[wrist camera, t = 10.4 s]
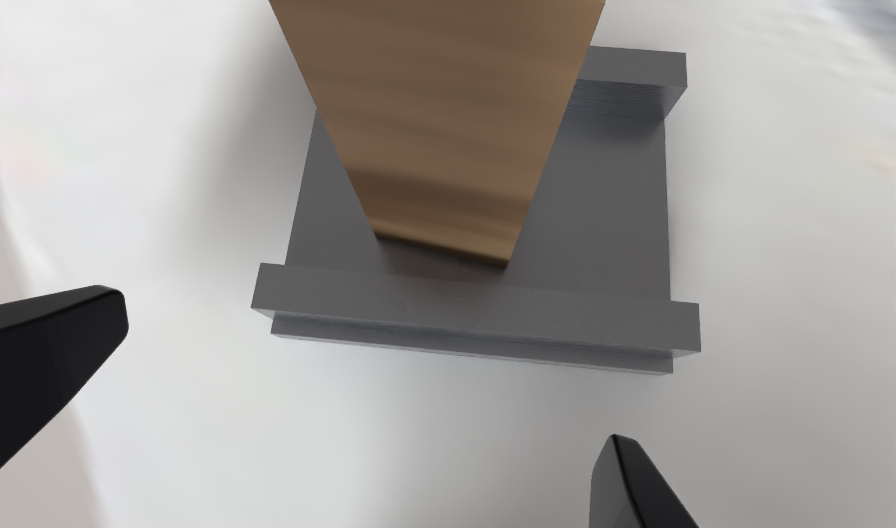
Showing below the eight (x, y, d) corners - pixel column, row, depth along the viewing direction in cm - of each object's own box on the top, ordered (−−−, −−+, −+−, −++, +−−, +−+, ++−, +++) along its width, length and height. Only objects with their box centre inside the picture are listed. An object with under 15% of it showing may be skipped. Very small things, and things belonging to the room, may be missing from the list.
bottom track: (660, 375, 17) (701, 368, 15) (280, 337, 18) (247, 323, 15) (653, 92, 21) (685, 41, 18) (334, 68, 21) (315, 15, 19)
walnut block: (506, 269, 18) (605, 2, 6) (375, 236, 18) (236, -71, 6) (534, 151, 19) (658, -247, 7) (412, 123, 19) (352, -294, 8)
